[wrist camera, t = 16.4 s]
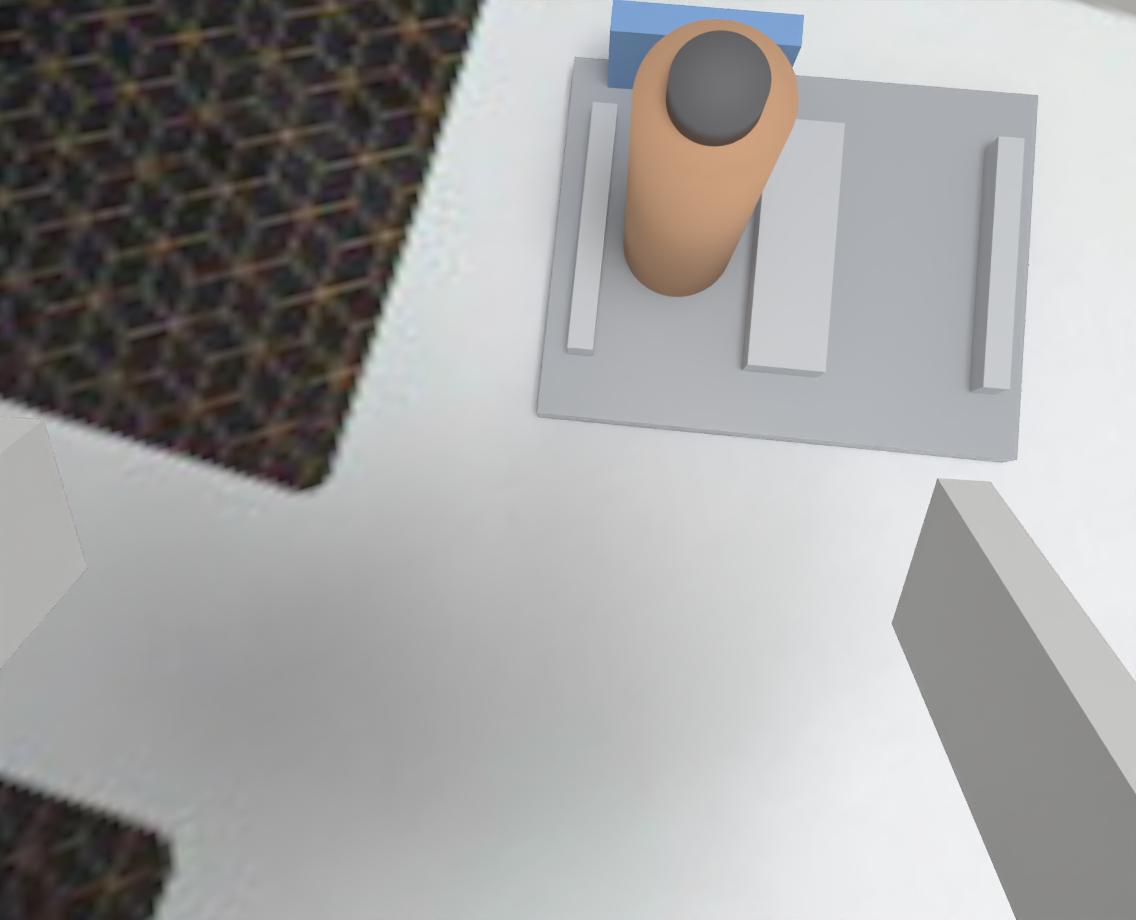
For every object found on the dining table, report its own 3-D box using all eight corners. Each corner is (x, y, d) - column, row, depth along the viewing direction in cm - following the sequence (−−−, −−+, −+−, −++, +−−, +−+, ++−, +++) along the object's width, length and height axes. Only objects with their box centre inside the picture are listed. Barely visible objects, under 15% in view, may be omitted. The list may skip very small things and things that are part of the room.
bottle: (601, 235, 35) (598, 67, 22) (686, 168, 35) (733, -38, 22) (668, 318, 34) (705, 198, 22) (754, 251, 34) (843, 92, 22)
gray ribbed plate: (1002, 462, 35) (1074, 449, 30) (538, 416, 35) (529, 396, 30) (1023, 109, 36) (1095, 38, 31) (575, 72, 37) (572, -4, 32)
